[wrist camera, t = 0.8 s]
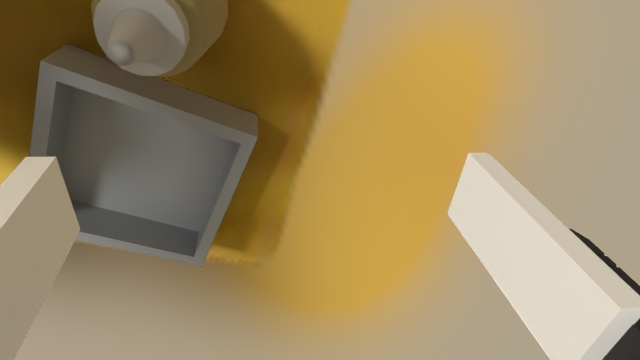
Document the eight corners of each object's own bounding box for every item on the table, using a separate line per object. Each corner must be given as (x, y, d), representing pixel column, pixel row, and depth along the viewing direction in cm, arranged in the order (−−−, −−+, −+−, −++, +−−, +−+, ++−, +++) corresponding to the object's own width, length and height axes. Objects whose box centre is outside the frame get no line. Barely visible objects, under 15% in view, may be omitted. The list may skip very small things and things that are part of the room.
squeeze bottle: (151, 51, 34) (73, 145, 19) (113, -54, 30) (-28, -35, 15) (241, 36, 35) (231, 118, 20) (217, -69, 30) (180, -65, 15)
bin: (44, 197, 41) (20, 227, 37) (67, 43, 33) (40, 60, 29) (206, 236, 47) (201, 267, 43) (257, 115, 39) (257, 137, 35)
